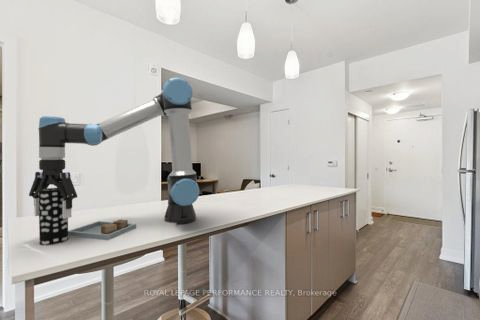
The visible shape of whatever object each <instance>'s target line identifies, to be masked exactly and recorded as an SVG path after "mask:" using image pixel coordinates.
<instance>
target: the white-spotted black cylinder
mask: <svg viewBox="0 0 480 320" xmlns="http://www.w3.org/2000/svg"><path fill="white" fill-rule="evenodd" d="M38 192H39V216H38V227H39V228H38V229H39V232H38V233H39V245H40V246H51V245H52V246H53V245H56V244H57V245H58V244H60V243H64V242H66V241H68V240H69V236H68V231H69V218H66V219H63V199H64V198H63V196H62V195H61V193H60V191H59V190H58V188H57V187H51V188H49V187H48V188H47V189H41V190H38Z"/></svg>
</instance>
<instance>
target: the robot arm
mask: <svg viewBox="0 0 480 320" xmlns="http://www.w3.org/2000/svg"><path fill="white" fill-rule="evenodd" d="M192 98H193V89H192V86H191V84H190V82H188V81H187V80H186V79H184V78H181V77H171V78H169V79H168V80H167V81H165V83H164V84H163V87H162V92H161V93H160V94H158V95H156V96H154V97H152V100H151V101H148V102H146V103H144V104H142V105H138V106H136V107H134V108H131V109H128V110H126V111H124V112H122V113H119V114H117V115H115V116H113V117H111V118H108V119H106V120H103V121H101V122H99V123H97V124H92V123H68V122H67V121H66V120H65V118H64V117H61V116H53V115H52V116H51V115H43V116H41V117H39V122H38V143H39V145H38V158H39V160H38V168H39V170H40V171H36V172H35V173H34V180H33V183H32V185H31V189H30V190H29V193H28V196H29V197H32V198H33V206H34V208H33V209H34V217H39V192H38V190H41V189H47V188H49V186H50V185H52V186H53V185H54V186H55V188H58V190H59V191H60V193H61V195H62V196H63V198H64V199H63V219H66V218H68V219H69V218H72V209H73V200H74V199H76V198H78V193H77V191H76V189H75V185H74V184H73V181H72V179H71V172H70V171H68V172H63V171H64V170H65V169H66V160H65V158H66V144H82V145H83V144H84V145H88V146H93V147H94V146H97V145H100V144H101V143H103V142H105V141H106V140H108V139H111V138H113V137H115V136H117V135H119V134H122V133H125V132H126V131H128V130H131V129H133V128H135V127H137V126H139V125H142V124H144V123H146V122H149V121H151V120H153V119H155V118H158V117H160V116H161V117H165V116H168V117H167V118H168V129H169V141H170V154H171V167H172V168H171V169H172V171H171V172H170V173H169V175H168V176H167V181H166V182H167V208H166V211H165V215H164V222H166V223H170V224H171V223H172V224H176V225H183V224H188V223H189V224H190V223H192V222H195V221H196V220H197V215H196V211H195V208H194V205H193V204H194V203H195V202H196V201H197V200H198V198H199V197H200V187H199V184H198V181H197V178H198V177H197V172H196V171H195V170H194V169H193V159H192V147H191V146H192V144H191V130H190V119H189V118H190V117H189V116H190V114H191V113H192V112H193V109H192Z"/></svg>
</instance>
